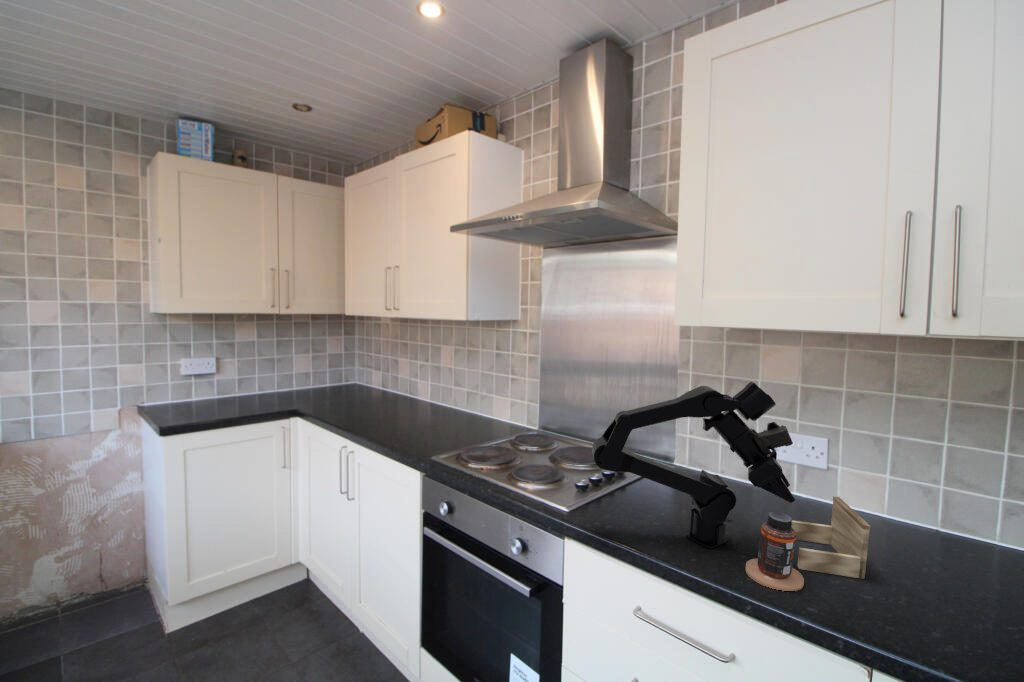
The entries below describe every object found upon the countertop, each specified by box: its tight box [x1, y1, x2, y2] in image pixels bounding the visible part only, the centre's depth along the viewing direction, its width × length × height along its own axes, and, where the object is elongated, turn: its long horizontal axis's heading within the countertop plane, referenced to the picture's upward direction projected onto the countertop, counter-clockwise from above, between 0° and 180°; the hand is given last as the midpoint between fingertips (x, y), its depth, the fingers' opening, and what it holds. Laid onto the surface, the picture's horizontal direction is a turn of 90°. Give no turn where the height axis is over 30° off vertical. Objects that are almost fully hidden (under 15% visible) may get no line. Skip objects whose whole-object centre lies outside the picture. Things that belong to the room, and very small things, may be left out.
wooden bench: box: [791, 496, 872, 580], centre depth 104 cm, size 12×15×11 cm
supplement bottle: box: [757, 511, 797, 578], centre depth 94 cm, size 6×6×11 cm
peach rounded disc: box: [745, 557, 805, 592], centre depth 95 cm, size 10×10×1 cm
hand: (790, 493), depth 102 cm, fingers open, 9 cm apart
